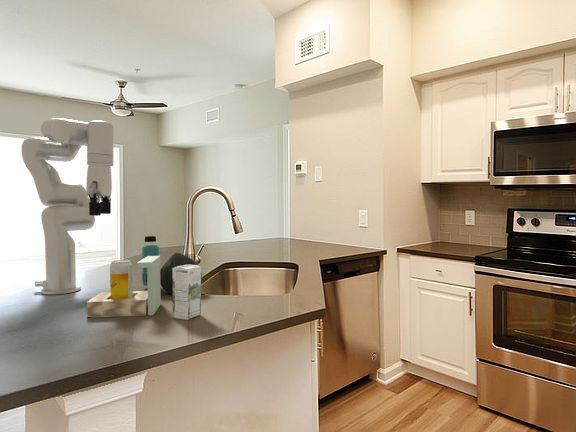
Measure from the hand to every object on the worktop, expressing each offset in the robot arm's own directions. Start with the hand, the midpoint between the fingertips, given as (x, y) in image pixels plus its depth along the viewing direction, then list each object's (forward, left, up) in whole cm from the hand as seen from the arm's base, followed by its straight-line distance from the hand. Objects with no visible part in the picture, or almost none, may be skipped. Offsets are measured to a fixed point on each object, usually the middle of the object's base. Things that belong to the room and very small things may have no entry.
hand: (100, 214), depth 125 cm
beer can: (+9, -10, -29) cm, 32 cm away
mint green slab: (+17, -10, -29) cm, 35 cm away
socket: (+9, -10, -29) cm, 32 cm away
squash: (+23, +13, -29) cm, 39 cm away
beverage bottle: (+11, +21, -29) cm, 38 cm away
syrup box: (+29, -19, -29) cm, 45 cm away
